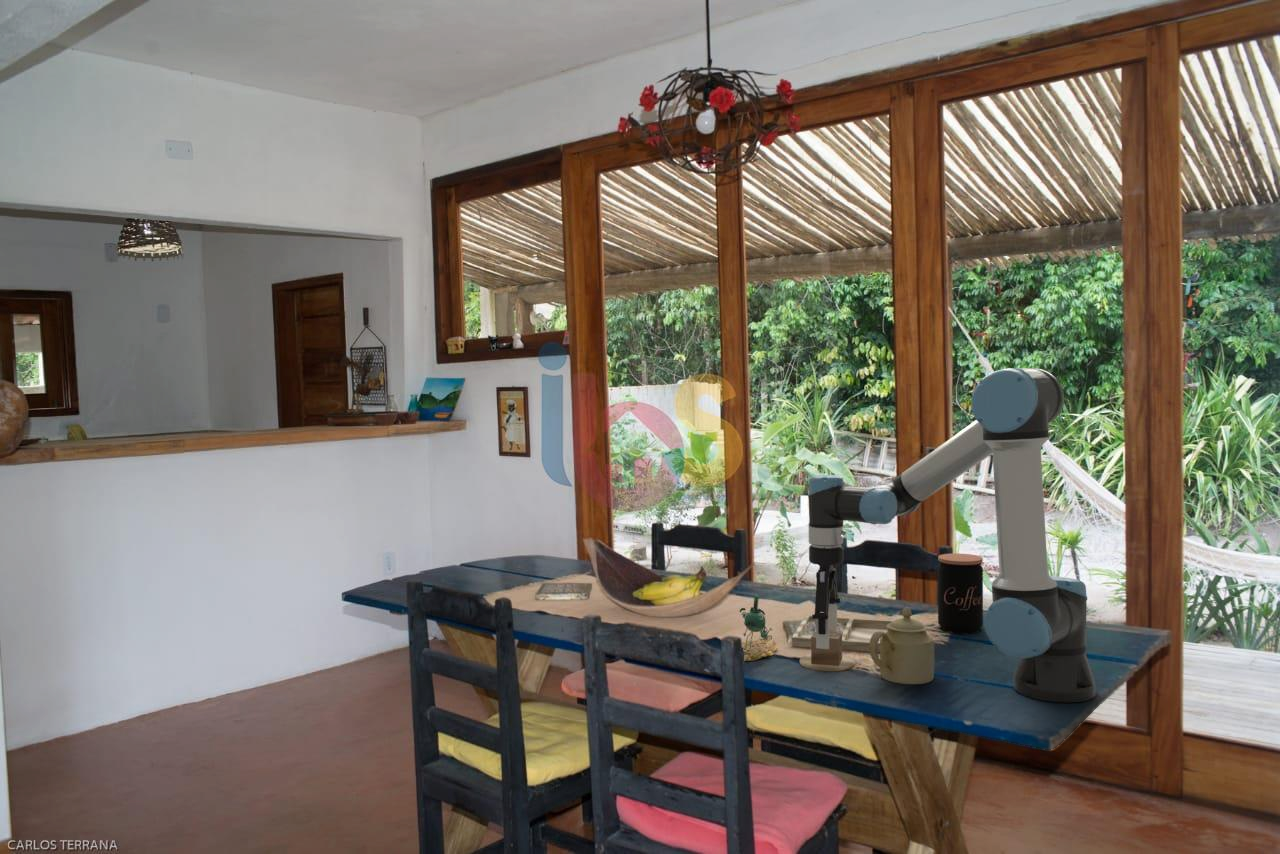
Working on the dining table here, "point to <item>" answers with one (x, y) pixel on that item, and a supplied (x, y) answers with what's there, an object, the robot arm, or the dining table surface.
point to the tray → (847, 633)
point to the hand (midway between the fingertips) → (826, 640)
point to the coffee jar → (960, 593)
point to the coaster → (844, 665)
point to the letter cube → (827, 650)
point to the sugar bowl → (904, 651)
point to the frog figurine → (756, 624)
